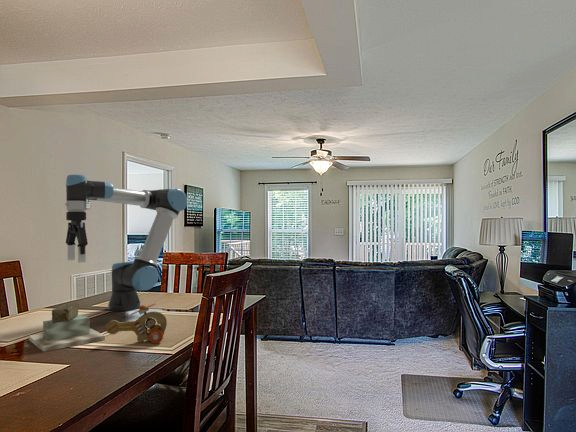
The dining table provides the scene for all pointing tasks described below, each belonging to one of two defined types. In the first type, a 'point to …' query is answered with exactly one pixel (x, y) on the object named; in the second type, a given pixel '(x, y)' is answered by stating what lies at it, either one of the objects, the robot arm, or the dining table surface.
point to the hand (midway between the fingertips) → (76, 261)
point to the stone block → (65, 312)
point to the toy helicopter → (142, 325)
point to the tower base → (65, 341)
